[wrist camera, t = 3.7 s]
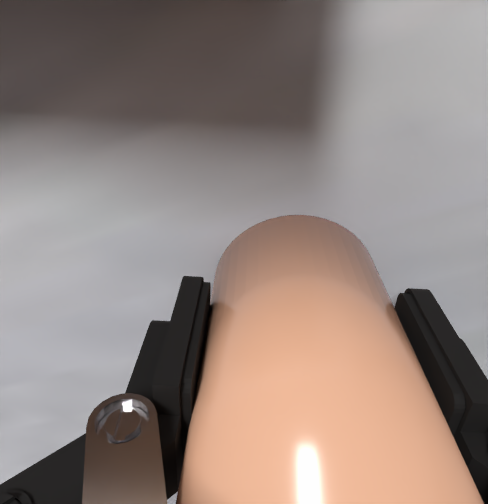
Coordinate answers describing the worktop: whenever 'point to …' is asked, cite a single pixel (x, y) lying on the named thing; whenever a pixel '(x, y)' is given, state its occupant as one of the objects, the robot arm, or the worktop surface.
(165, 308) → the worktop surface
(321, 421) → the glossy peach capsule
